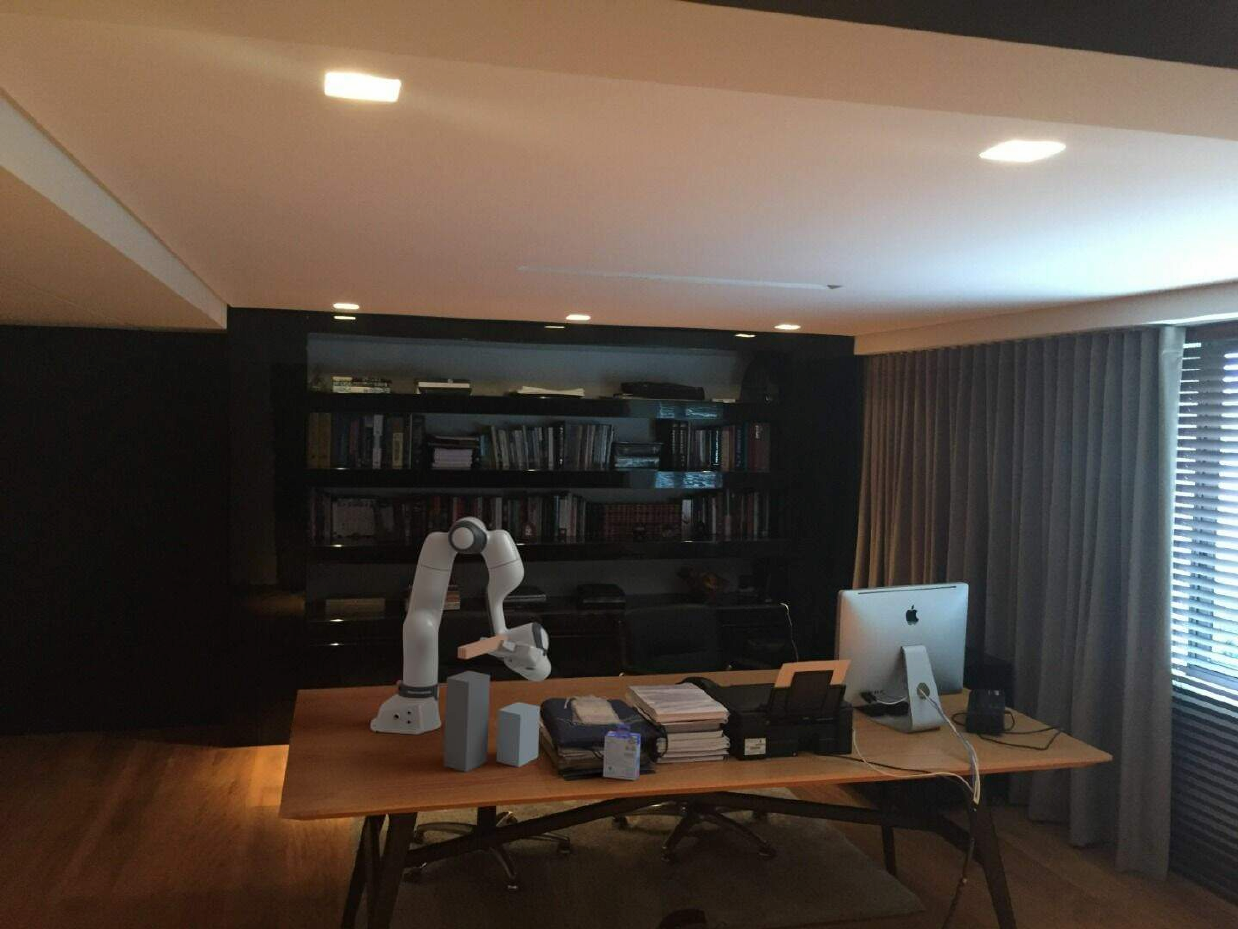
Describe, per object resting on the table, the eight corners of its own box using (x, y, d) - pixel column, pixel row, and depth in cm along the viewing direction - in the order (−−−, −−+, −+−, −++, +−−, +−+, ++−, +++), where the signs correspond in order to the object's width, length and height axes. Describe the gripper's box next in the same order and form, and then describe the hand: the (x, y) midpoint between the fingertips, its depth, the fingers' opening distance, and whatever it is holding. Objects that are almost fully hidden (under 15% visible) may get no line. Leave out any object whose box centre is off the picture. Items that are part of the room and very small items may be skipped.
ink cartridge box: (639, 774, 288) (641, 725, 287) (636, 781, 282) (638, 731, 281) (606, 771, 289) (608, 722, 289) (602, 777, 284) (604, 727, 283)
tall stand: (465, 756, 296) (468, 670, 295) (486, 762, 293) (489, 675, 291) (443, 766, 288) (446, 677, 286) (465, 772, 284) (468, 682, 283)
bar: (499, 644, 304) (499, 635, 304) (507, 646, 302) (507, 636, 302) (457, 657, 286) (458, 647, 286) (466, 659, 285) (466, 649, 285)
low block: (516, 752, 302) (517, 702, 301) (537, 757, 298) (539, 706, 297) (496, 761, 293) (498, 709, 293) (518, 767, 289) (520, 715, 289)
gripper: (494, 641, 317) (472, 626, 306) (548, 651, 307) (526, 636, 296) (488, 660, 314) (465, 646, 304) (541, 671, 304) (519, 656, 294)
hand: (495, 641), depth 300 cm, fingers closed on bar, 3 cm apart
